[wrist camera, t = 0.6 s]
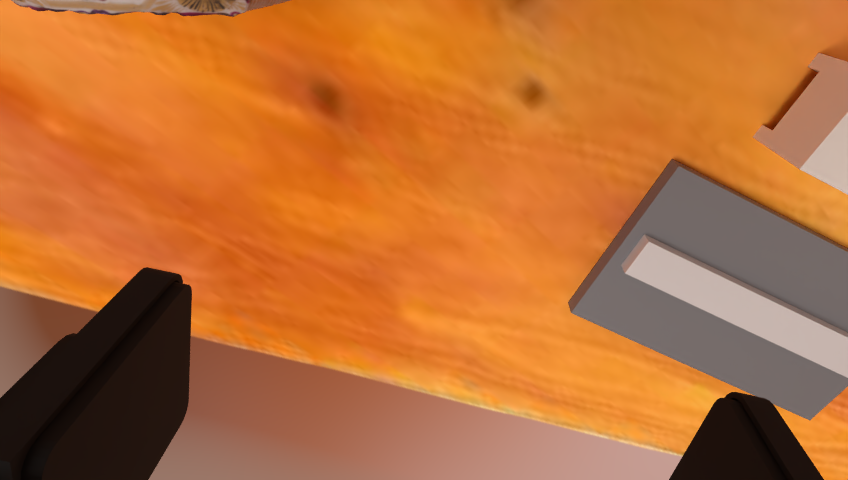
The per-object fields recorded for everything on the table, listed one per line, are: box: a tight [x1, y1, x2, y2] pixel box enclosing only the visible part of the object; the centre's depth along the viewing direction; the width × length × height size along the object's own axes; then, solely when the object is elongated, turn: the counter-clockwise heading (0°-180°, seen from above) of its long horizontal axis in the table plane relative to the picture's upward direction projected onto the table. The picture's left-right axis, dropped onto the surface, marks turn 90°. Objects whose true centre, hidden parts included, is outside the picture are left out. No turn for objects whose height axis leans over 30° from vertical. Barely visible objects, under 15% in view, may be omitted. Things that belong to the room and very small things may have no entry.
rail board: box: [568, 159, 848, 420], centre depth 45 cm, size 14×24×3 cm, turn 65°
